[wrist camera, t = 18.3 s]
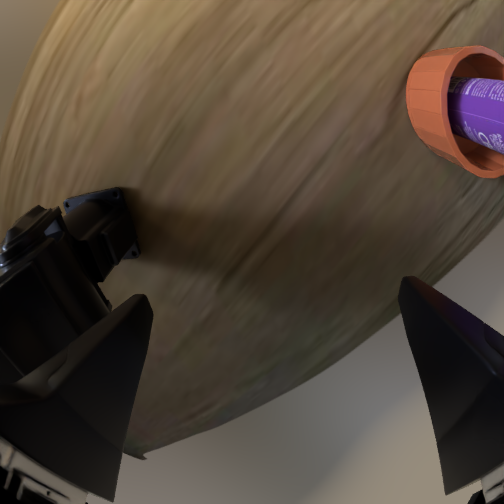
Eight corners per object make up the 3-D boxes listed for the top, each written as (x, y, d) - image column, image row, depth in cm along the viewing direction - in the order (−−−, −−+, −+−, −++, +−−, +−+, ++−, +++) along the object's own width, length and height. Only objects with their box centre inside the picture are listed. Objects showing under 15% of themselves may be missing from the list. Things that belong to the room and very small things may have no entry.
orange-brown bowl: (405, 156, 19) (438, 176, 14) (400, 40, 14) (434, 31, 10) (488, 161, 18) (524, 181, 13) (488, 62, 13) (527, 65, 9)
